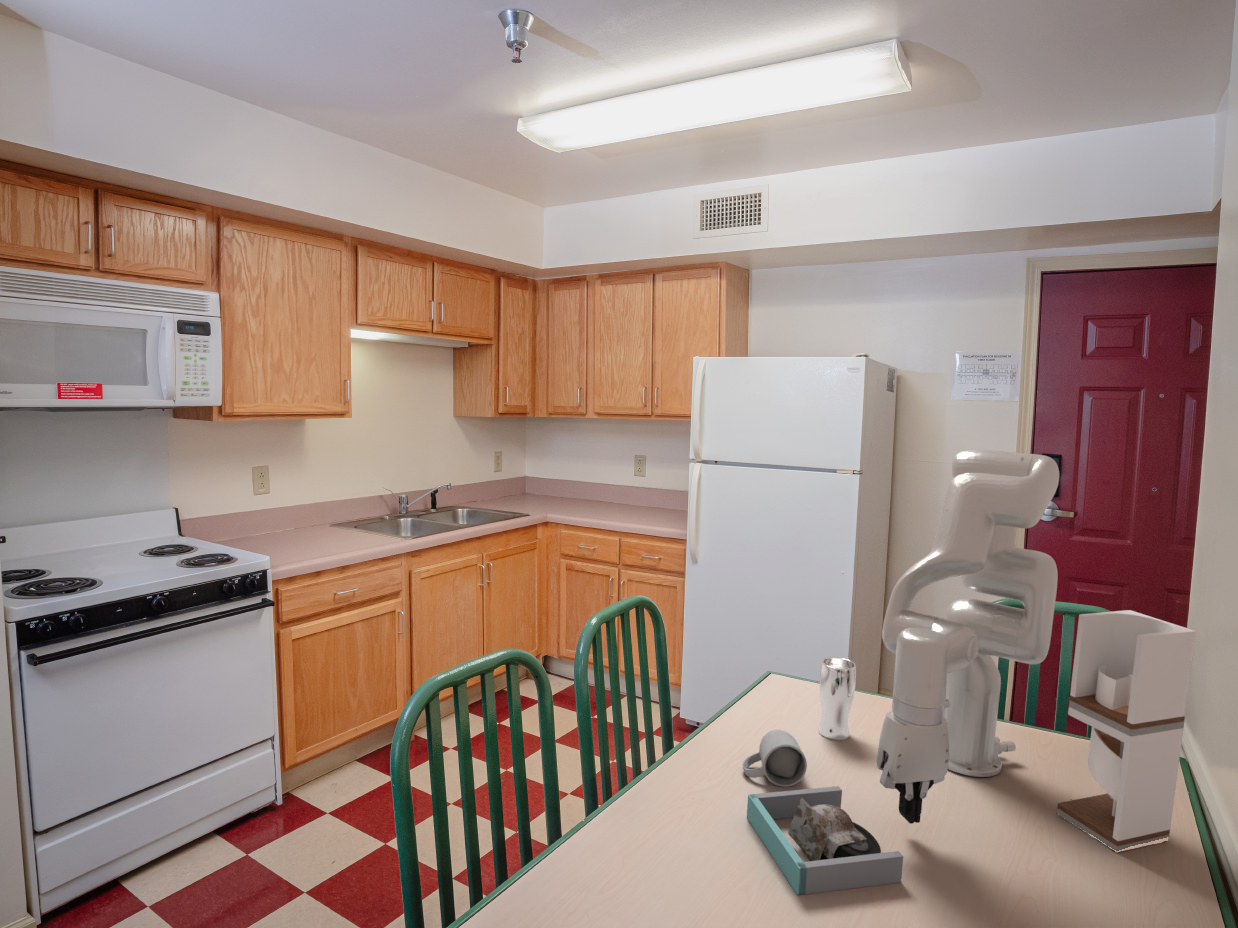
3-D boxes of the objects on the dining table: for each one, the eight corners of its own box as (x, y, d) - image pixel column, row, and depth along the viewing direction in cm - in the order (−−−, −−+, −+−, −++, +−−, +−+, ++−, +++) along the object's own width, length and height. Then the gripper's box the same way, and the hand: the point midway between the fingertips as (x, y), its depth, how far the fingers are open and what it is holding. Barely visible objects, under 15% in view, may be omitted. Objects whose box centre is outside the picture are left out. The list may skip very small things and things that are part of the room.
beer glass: (851, 728, 152) (857, 659, 151) (850, 744, 146) (856, 671, 144) (817, 722, 155) (822, 654, 153) (814, 737, 148) (820, 666, 146)
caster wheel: (881, 879, 110) (836, 891, 105) (829, 824, 119) (784, 833, 114) (897, 842, 108) (852, 853, 103) (843, 790, 118) (798, 797, 112)
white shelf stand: (1106, 804, 128) (1129, 609, 124) (1168, 841, 118) (1196, 630, 114) (1056, 814, 124) (1079, 614, 120) (1116, 853, 114) (1143, 636, 110)
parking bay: (836, 808, 123) (838, 785, 123) (901, 881, 106) (903, 856, 105) (746, 817, 120) (748, 794, 119) (797, 894, 102) (799, 868, 102)
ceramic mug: (795, 763, 137) (797, 724, 137) (806, 787, 129) (808, 746, 128) (739, 762, 138) (740, 723, 137) (746, 786, 129) (747, 745, 129)
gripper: (944, 694, 119) (935, 798, 122) (861, 701, 116) (854, 809, 118) (976, 715, 112) (966, 826, 114) (888, 724, 109) (880, 838, 111)
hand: (909, 817), depth 116 cm, fingers closed
